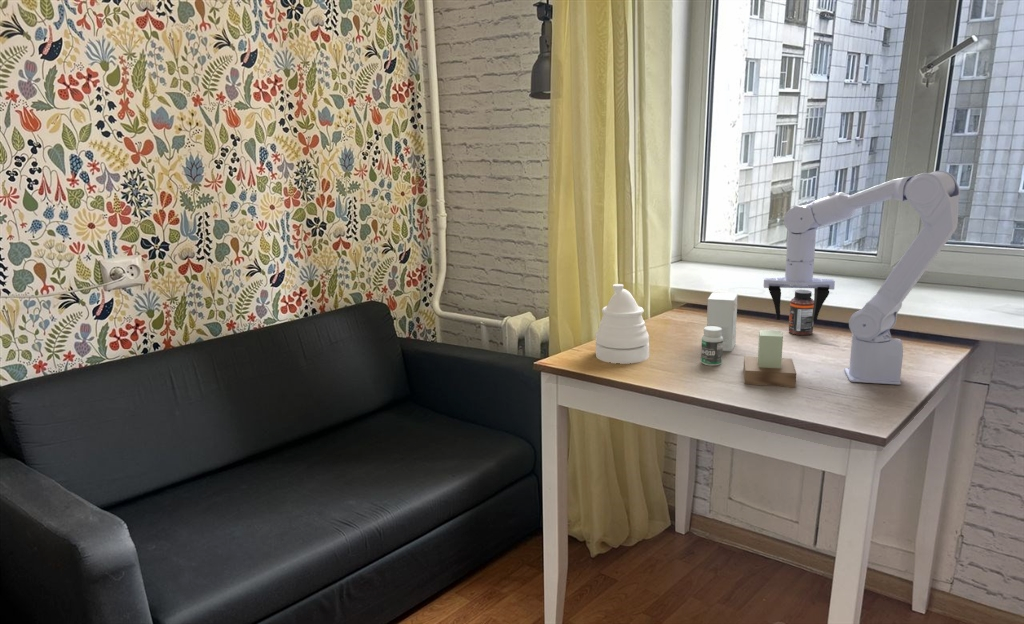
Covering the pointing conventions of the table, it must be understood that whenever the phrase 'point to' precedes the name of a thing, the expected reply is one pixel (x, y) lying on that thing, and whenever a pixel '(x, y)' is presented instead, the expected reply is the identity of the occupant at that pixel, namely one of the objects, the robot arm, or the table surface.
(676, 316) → the table surface
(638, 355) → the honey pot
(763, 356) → the sage block
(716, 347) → the pill bottle
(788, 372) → the walnut base
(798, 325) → the supplement bottle
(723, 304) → the small box
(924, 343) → the table surface
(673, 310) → the table surface
